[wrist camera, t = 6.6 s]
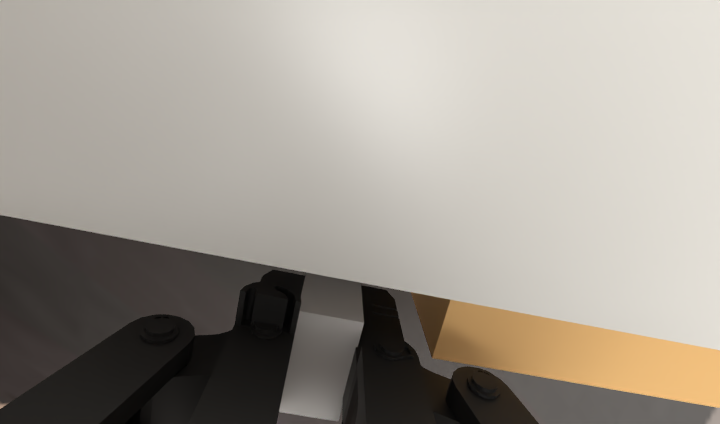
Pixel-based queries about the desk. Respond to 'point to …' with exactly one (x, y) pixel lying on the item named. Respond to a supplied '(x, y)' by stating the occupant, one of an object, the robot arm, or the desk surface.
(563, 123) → the block
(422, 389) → the robot arm
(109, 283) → the desk surface
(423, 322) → the side door
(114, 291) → the desk surface
